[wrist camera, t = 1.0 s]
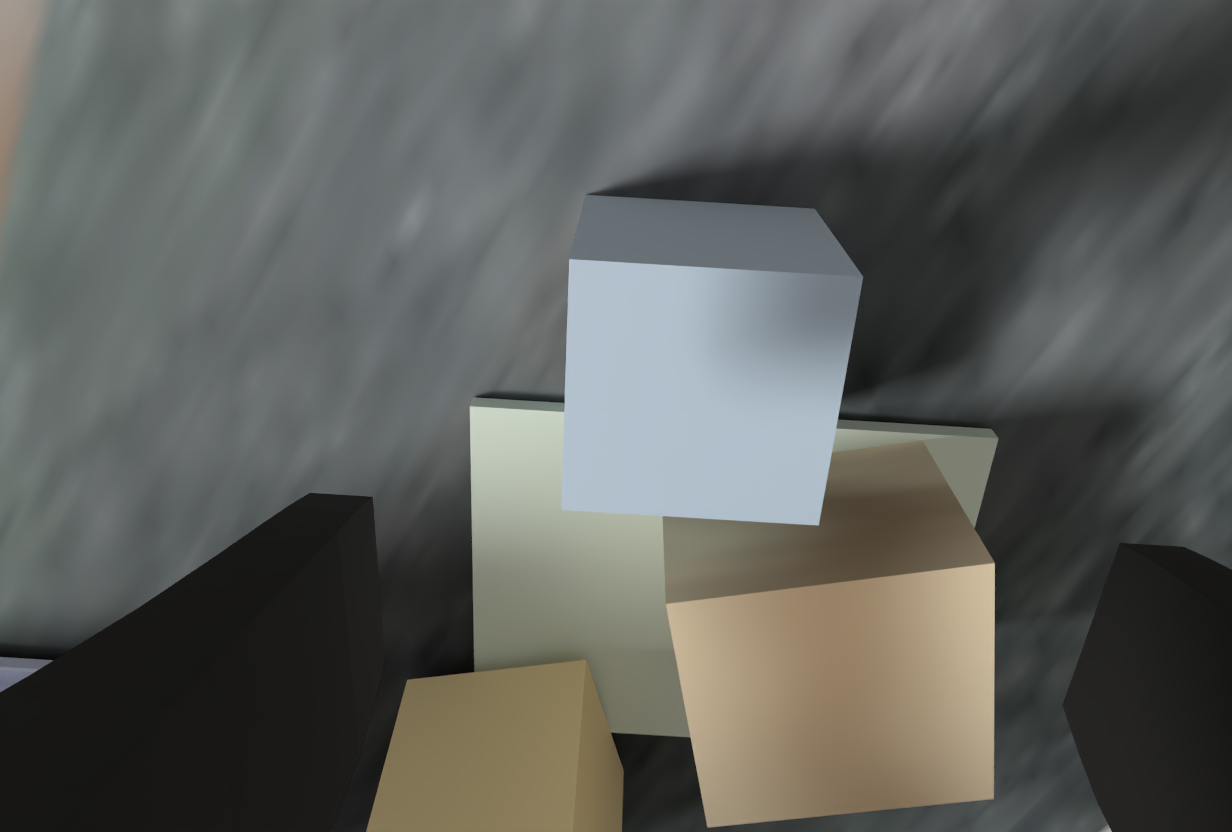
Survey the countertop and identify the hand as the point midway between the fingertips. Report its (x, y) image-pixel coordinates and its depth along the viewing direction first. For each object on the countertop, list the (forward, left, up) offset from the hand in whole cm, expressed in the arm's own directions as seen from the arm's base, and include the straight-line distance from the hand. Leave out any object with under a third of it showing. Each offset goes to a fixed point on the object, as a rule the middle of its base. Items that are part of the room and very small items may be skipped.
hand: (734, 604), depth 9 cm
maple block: (+3, -5, -8) cm, 10 cm away
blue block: (0, 0, -9) cm, 9 cm away
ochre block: (-3, -10, -8) cm, 13 cm away
